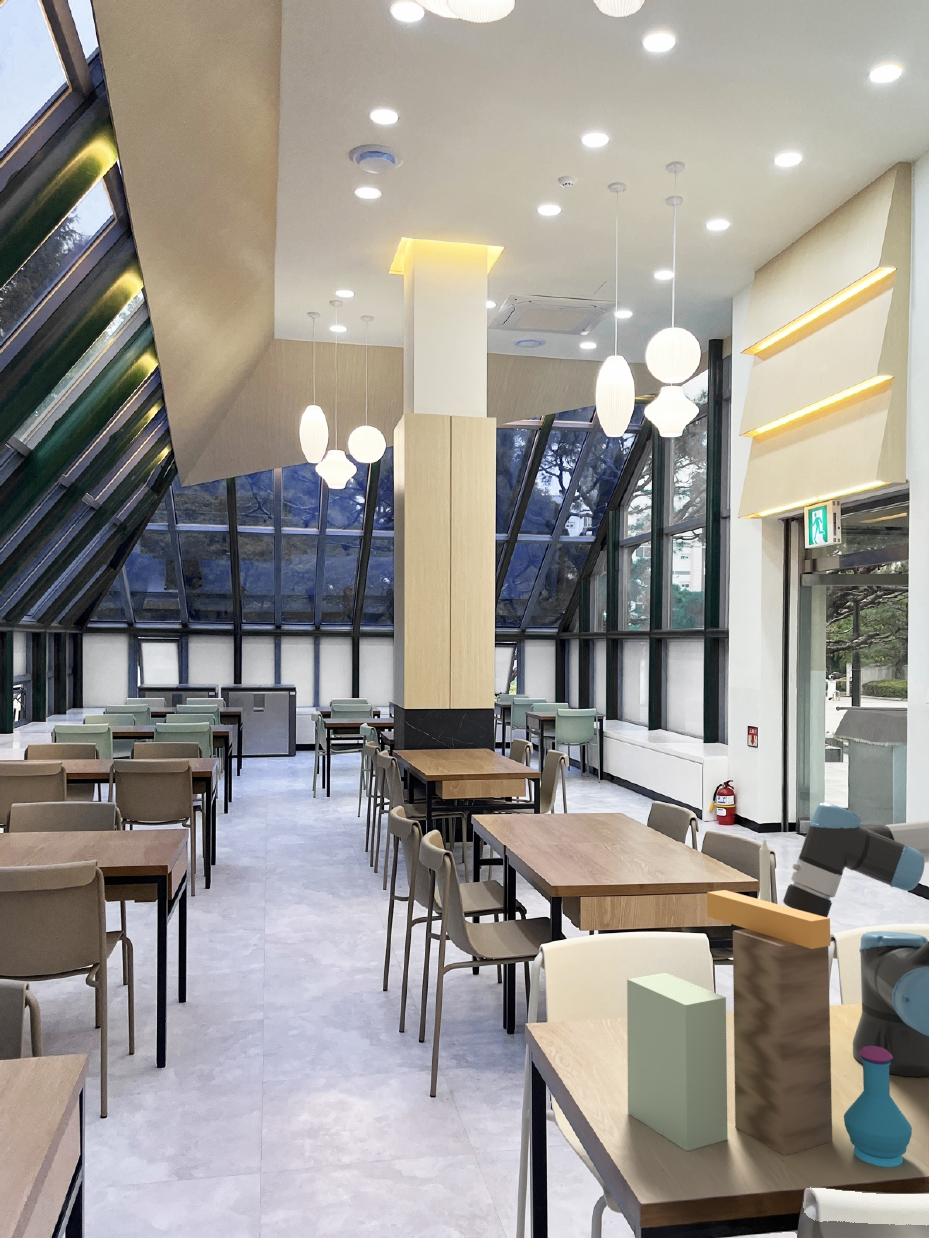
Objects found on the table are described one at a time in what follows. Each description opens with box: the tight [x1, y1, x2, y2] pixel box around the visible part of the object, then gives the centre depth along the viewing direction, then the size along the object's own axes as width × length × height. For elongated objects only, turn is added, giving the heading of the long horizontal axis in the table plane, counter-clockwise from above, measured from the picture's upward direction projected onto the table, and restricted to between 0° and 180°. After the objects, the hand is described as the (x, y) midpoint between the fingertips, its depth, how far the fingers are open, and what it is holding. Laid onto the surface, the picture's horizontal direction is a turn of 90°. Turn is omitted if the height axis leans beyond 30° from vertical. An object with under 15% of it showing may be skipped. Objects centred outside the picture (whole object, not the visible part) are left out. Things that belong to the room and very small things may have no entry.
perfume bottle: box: [843, 1046, 913, 1168], centre depth 137 cm, size 9×9×15 cm
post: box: [732, 928, 833, 1156], centre depth 144 cm, size 10×10×30 cm
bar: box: [706, 889, 831, 949], centre depth 148 cm, size 22×4×4 cm, turn 28°
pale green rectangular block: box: [626, 972, 729, 1152], centre depth 146 cm, size 14×8×21 cm, turn 28°
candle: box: [758, 836, 772, 903], centre depth 194 cm, size 10×10×38 cm
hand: (770, 1007), depth 161 cm, fingers open, 13 cm apart
